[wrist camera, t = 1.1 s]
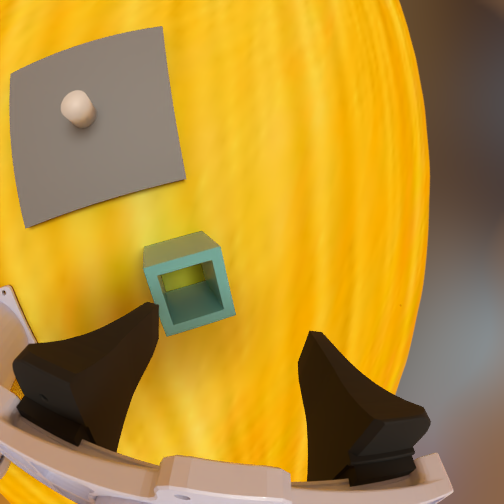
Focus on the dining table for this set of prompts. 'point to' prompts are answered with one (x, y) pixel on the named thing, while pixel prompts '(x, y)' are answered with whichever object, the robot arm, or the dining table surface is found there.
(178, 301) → the sleeve
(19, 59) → the dining table surface
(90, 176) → the stub board
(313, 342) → the robot arm
